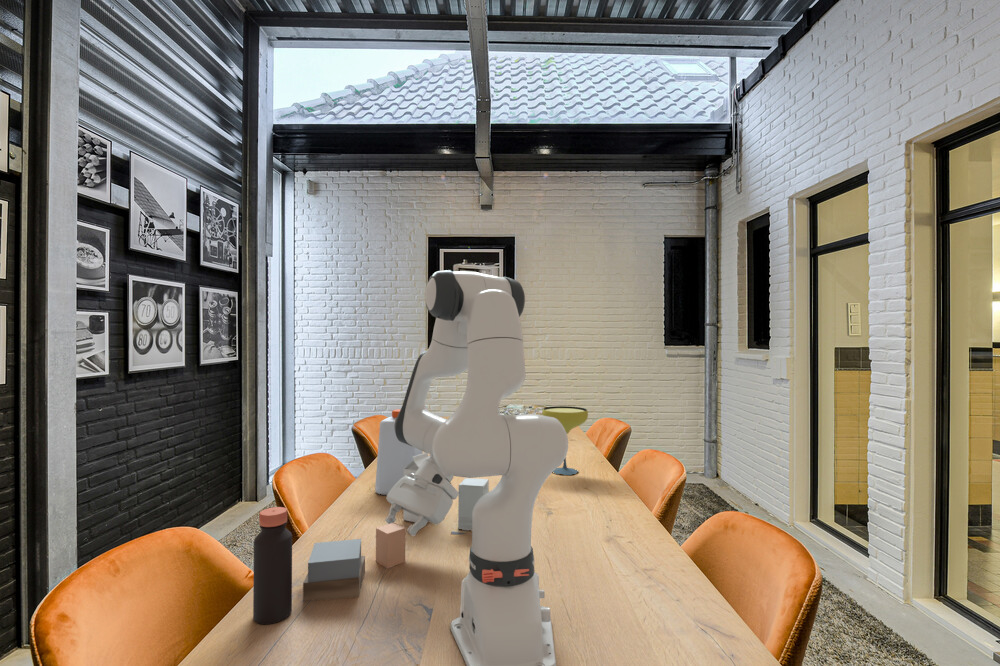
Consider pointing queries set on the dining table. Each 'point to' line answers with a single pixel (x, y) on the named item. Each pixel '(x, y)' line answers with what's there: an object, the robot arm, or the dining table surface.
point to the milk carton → (412, 469)
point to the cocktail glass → (566, 425)
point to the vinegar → (272, 568)
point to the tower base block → (334, 587)
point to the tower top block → (334, 560)
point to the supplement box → (470, 499)
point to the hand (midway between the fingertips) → (398, 528)
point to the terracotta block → (390, 545)
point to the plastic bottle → (391, 456)
